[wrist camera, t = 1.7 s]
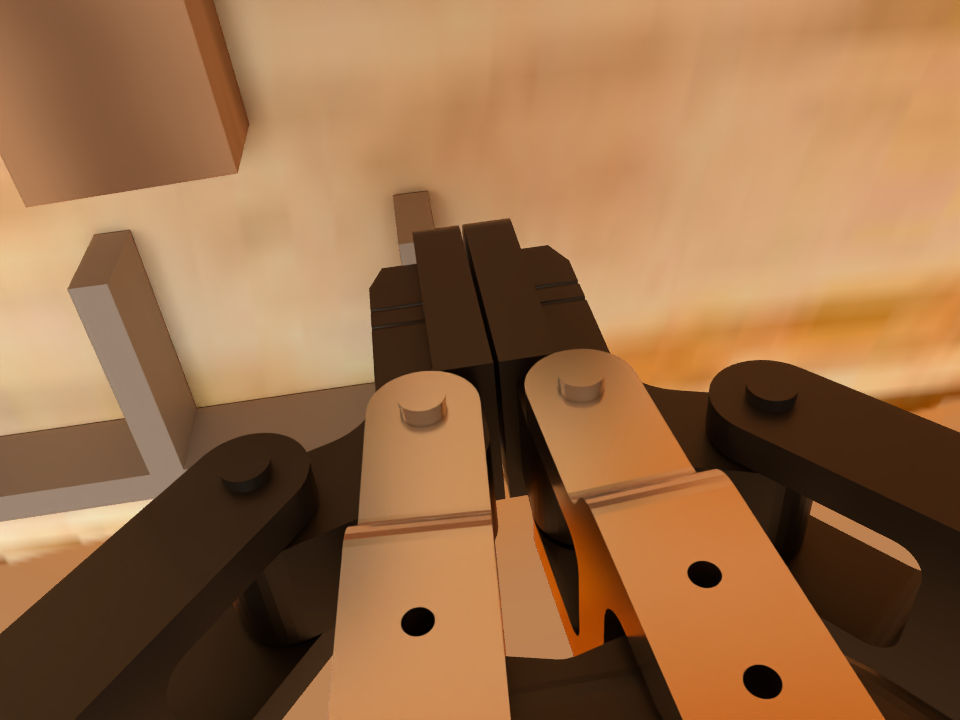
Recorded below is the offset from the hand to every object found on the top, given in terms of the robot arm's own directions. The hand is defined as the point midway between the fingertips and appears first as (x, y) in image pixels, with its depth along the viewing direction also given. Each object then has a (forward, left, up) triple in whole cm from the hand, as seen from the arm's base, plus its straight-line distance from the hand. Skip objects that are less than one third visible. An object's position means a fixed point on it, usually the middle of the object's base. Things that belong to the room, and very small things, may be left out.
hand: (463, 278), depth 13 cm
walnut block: (+8, 0, -16) cm, 18 cm away
